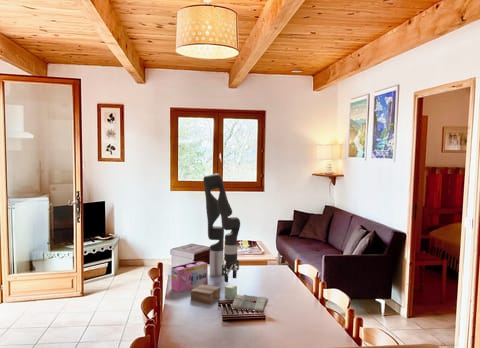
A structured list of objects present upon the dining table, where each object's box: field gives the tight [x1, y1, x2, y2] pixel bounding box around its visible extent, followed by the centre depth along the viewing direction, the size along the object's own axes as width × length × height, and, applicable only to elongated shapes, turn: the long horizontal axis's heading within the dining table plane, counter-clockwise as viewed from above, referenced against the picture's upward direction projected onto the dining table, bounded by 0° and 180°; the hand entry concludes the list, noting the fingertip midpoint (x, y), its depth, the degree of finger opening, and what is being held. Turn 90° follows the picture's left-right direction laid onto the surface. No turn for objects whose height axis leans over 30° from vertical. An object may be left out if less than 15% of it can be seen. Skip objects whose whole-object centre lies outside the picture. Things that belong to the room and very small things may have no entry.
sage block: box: [224, 283, 238, 300], centre depth 214 cm, size 5×5×6 cm
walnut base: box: [190, 284, 221, 305], centre depth 210 cm, size 12×12×6 cm
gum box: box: [170, 260, 209, 293], centre depth 230 cm, size 24×8×14 cm, turn 134°
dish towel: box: [230, 294, 269, 313], centre depth 203 cm, size 19×18×3 cm
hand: (230, 280), depth 213 cm, fingers open, 8 cm apart
